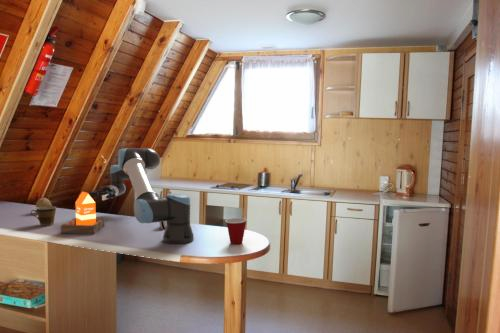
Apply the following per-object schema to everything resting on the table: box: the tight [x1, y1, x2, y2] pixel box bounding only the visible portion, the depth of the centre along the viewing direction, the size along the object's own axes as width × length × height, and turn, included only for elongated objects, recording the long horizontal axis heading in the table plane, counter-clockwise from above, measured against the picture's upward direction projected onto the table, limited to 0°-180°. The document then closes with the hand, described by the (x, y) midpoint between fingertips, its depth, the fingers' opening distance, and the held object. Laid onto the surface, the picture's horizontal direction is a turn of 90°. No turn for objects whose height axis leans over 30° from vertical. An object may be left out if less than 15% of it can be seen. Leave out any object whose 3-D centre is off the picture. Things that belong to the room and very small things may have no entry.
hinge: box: [158, 221, 167, 230], centre depth 234 cm, size 17×5×10 cm, turn 160°
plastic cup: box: [224, 217, 248, 246], centre depth 201 cm, size 11×11×12 cm
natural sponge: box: [35, 197, 53, 208], centre depth 262 cm, size 9×9×10 cm
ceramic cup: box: [30, 205, 57, 227], centre depth 230 cm, size 13×10×10 cm
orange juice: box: [75, 191, 97, 225], centre depth 221 cm, size 8×9×20 cm
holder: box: [60, 217, 106, 235], centre depth 222 cm, size 17×17×4 cm
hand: (91, 197), depth 229 cm, fingers open, 13 cm apart
